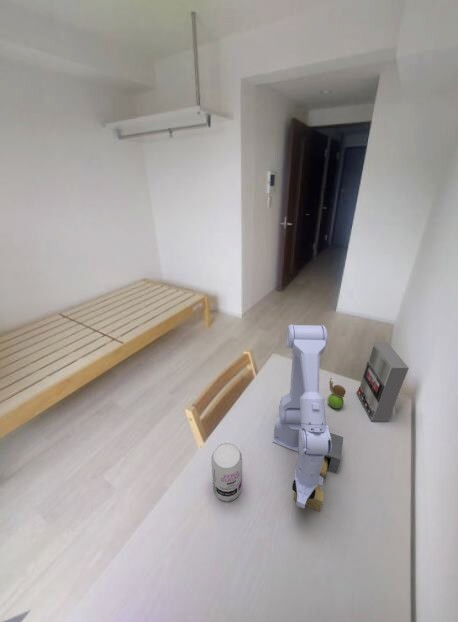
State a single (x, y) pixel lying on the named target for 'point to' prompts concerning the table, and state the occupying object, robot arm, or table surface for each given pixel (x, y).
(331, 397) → the snail figurine
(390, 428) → the table surface
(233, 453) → the supplement can
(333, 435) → the bore block
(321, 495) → the plunger with bar handle
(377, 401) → the cassette tape recorder
